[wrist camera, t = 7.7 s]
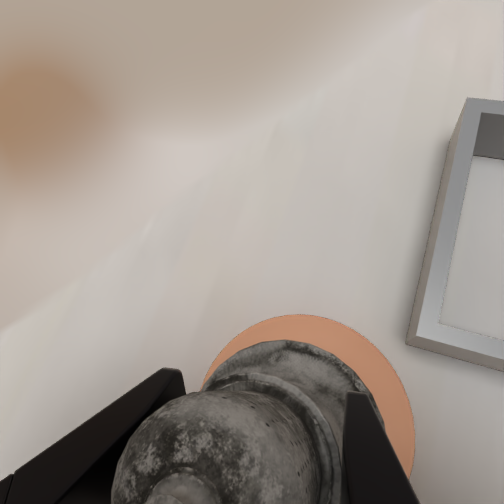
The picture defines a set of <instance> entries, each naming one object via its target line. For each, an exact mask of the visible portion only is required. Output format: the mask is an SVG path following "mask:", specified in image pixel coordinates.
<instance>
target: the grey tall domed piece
mask: <svg viewBox="0 0 504 504" xmlns="http://www.w3.org/2000/svg"><path fill="white" fill-rule="evenodd" d="M347 391H356V392H363V393H366V394H367V395H368V397H369V398H370V401H371V403H372V405H373V407H374V409H375V411H376V413H377V415H378V417H379V419H380V421H381V423H382V425H383V428H384V430H385V424H384V420H383V418H382V416H381V413H380V411H379V409H378V406H377V404H376V402H375V400H374V397H373V395H372V393H371V392H370V391H369V389H368V388H367V387H366V385H365V384H364V383H363V381H362V380H361V379H360V377H359V376H358V375H357V373H356V372H355V371H354V370H353V369H351V368H350V367H349V366H348V365H346V364H345V363H344V362H343V361H341V360H340V359H339V358H338V357H336V356H335V355H334V354H332V353H330V352H328V351H325V350H323V349H321V348H319V347H317V346H314V345H312V344H310V343H304V342H298V341H292V340H286V339H284V340H274V341H265V342H260V343H257V344H255V345H252V346H249V347H247V348H244V349H242V350H239V351H238V352H236V353H235V354H234V355H232V356H231V357H230V358H228V359H227V360H226V361H224V362H223V363H222V364H220V365H219V366H218V367H217V369H216V370H215V371H214V372H213V374H212V375H211V376H210V377H209V379H208V380H207V381H206V382H205V383H204V385H203V387H202V389H201V391H200V392H192V393H189V394H186V395H184V396H181V397H179V398H176V399H173V400H171V401H169V402H168V403H166V404H165V405H163V406H162V407H161V408H159V409H158V410H157V411H155V412H154V413H153V414H151V415H150V416H149V417H147V418H146V419H145V420H144V421H143V422H142V424H141V425H140V426H139V427H138V429H137V430H136V431H135V432H134V434H133V435H132V436H131V437H130V438H129V440H128V443H127V445H126V447H125V449H124V451H123V453H122V455H121V457H120V459H119V461H118V464H117V468H116V473H115V477H114V481H113V485H112V489H111V504H341V471H342V439H343V422H344V409H345V395H346V392H347ZM385 432H386V430H385Z"/></svg>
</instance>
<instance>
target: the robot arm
mask: <svg viewBox="0 0 504 504" xmlns="http://www.w3.org/2000/svg"><path fill="white" fill-rule="evenodd" d="M184 395H186V391H185V386H184V381H183V376H182V373H181V371H180V370H178V369H173V368H162V369H160V370H158V371H157V372H156V373H154V374H153V375H151V376H150V377H148V378H147V379H146V380H144V381H143V382H141V383H140V384H138V385H137V386H136V387H134V388H133V389H131V390H130V391H128V392H127V393H126V394H124V395H123V396H121V397H120V398H118V399H117V400H116V401H114V402H113V403H111V404H110V405H108V406H107V407H106V408H104V409H103V410H101V411H100V412H99V413H97V414H96V415H94V416H93V417H91V418H90V419H89V420H87V421H86V422H84V423H83V424H81V425H80V426H79V427H77V428H76V429H74V430H73V431H71V432H70V433H69V434H67V435H66V436H64V437H63V438H61V439H60V440H59V441H57V442H56V443H54V444H53V445H52V446H50V447H49V448H47V449H46V450H44V451H43V452H42V453H40V454H39V455H37V456H36V457H34V458H33V459H32V460H30V461H29V462H27V463H26V464H24V465H23V466H22V467H20V468H19V469H17V470H16V471H15V473H14V474H10V475H9V476H7V477H6V478H4V479H3V480H1V481H0V504H111V489H112V485H113V481H114V477H115V473H116V468H117V464H118V461H119V459H120V457H121V455H122V453H123V451H124V449H125V447H126V445H127V443H128V440H129V438H130V437H131V436H132V435H133V434H134V432H135V431H136V430H137V429H138V427H139V426H140V425H141V424H142V422H143V421H144V420H145V419H146V418H147V417H149V416H150V415H151V414H153V413H154V412H155V411H157V410H158V409H159V408H161V407H162V406H163V405H165V404H166V403H168V402H169V401H171V400H173V399H176V398H179V397H181V396H184ZM341 504H420V502H419V500H418V498H417V496H416V494H415V492H414V490H413V488H412V486H411V484H410V482H409V479H408V477H407V475H406V473H405V471H404V469H403V467H402V465H401V463H400V461H399V459H398V457H397V455H396V452H395V450H394V448H393V446H392V444H391V442H390V440H389V438H388V436H387V434H386V432H385V430H384V428H383V425H382V423H381V421H380V419H379V417H378V415H377V413H376V411H375V409H374V407H373V405H372V403H371V401H370V398H369V397H368V395H367V394H366V393H363V392H356V391H347V392H346V395H345V409H344V422H343V439H342V471H341Z"/></svg>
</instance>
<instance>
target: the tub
mask: <svg viewBox="0 0 504 504" xmlns="http://www.w3.org/2000/svg"><path fill="white" fill-rule="evenodd" d="M473 155H477V156H484V157H491V158H498V159H504V101H497V100H487V99H477V98H468V97H467V99H466V102H465V104H464V107H463V109H462V112H461V114H460V117H459V119H458V122H457V124H456V127H455V129H454V132H453V134H452V137H451V139H450V143H449V147H448V152H447V157H446V161H445V166H444V170H443V175H442V179H441V184H440V188H439V193H438V197H437V202H436V207H435V211H434V216H433V220H432V225H431V229H430V234H429V238H428V243H427V248H426V252H425V257H424V261H423V266H422V270H421V275H420V279H419V284H418V288H417V293H416V298H415V302H414V307H413V311H412V316H411V320H410V325H409V329H408V334H407V339H406V343H405V344H408V345H411V346H415V347H418V348H422V349H425V350H429V351H432V352H436V353H439V354H443V355H446V356H450V357H454V358H457V359H461V360H464V361H468V362H471V363H475V364H478V365H482V366H485V367H489V368H492V369H496V370H499V371H503V372H504V340H500V339H496V338H492V337H489V336H485V335H481V334H477V333H473V332H469V331H466V330H462V329H458V328H454V327H450V326H447V325H443V324H439V318H440V313H441V308H442V303H443V298H444V293H445V289H446V284H447V279H448V274H449V269H450V264H451V259H452V254H453V249H454V244H455V239H456V234H457V229H458V225H459V220H460V215H461V210H462V205H463V200H464V195H465V190H466V185H467V180H468V175H469V170H470V166H471V161H472V156H473Z"/></svg>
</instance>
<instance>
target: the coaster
mask: <svg viewBox="0 0 504 504" xmlns="http://www.w3.org/2000/svg"><path fill="white" fill-rule="evenodd" d="M284 339H286V340H292V341H298V342H304V343H310V344H312V345H314V346H317V347H319V348H321V349H323V350H325V351H328V352H330V353H332V354H334V355H335V356H336V357H338V358H339V359H340V360H341V361H343V362H344V363H345V364H346V365H348V366H349V367H350V368H351V369H353V370H354V371H355V372H356V373H357V375H358V376H359V377H360V379H361V380H362V381H363V383H364V384H365V385H366V387H367V388H368V389H369V391H370V392H371V393H372V395H373V397H374V400H375V402H376V404H377V406H378V409H379V411H380V413H381V416H382V418H383V420H384V424H385V430H386V434H387V436H388V438H389V440H390V442H391V444H392V446H393V448H394V450H395V452H396V455H397V457H398V459H399V461H400V463H401V465H402V467H403V469H404V471H405V473H406V475H407V477H408V479H409V477H410V474H411V470H412V466H413V459H414V452H415V430H414V422H413V415H412V411H411V407H410V404H409V400H408V397H407V395H406V392H405V390H404V387H403V385H402V383H401V381H400V379H399V377H398V376H397V374H396V372H395V370H394V369H393V367H392V366H391V365H390V363H389V362H388V360H387V359H386V358H385V357H384V356H383V354H382V353H381V352H380V351H379V350H378V349H377V348H376V347H375V346H374V345H373V344H372V343H370V342H369V341H368V340H367V339H366V338H365V337H363V336H362V335H360V334H359V333H357V332H356V331H354V330H353V329H351V328H349V327H347V326H345V325H343V324H341V323H338V322H335V321H333V320H330V319H327V318H322V317H318V316H312V315H285V316H280V317H274V318H271V319H268V320H265V321H262V322H260V323H258V324H256V325H253V326H251V327H249V328H248V329H246V330H245V331H243V332H242V333H240V334H239V335H238V336H236V337H235V338H234V339H233V340H232V341H231V342H229V343H228V345H227V346H226V347H225V348H224V349H223V350H222V351H221V352H220V354H219V355H218V356H217V358H216V359H215V361H214V362H213V363H212V365H211V367H210V369H209V371H208V373H207V374H206V377H205V379H204V382H203V384H202V387H203V385H204V383H205V382H206V381H207V380H208V379H209V377H210V376H211V375H212V374H213V372H214V371H215V370H216V369H217V367H218V366H219V365H220V364H222V363H223V362H224V361H226V360H227V359H228V358H230V357H231V356H232V355H234V354H235V353H236V352H238V351H239V350H242V349H244V348H247V347H249V346H252V345H255V344H257V343H260V342H265V341H274V340H284ZM202 387H201V389H202ZM200 391H201V390H200Z"/></svg>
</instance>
